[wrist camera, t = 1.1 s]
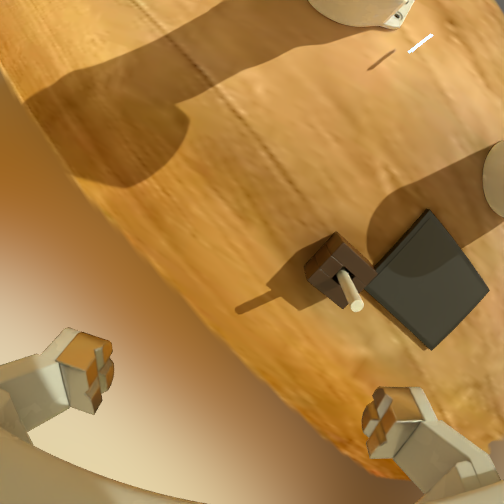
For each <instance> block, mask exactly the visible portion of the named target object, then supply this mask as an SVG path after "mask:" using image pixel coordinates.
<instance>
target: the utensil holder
mask: <svg viewBox="0 0 504 504" xmlns="http://www.w3.org/2000/svg"><path fill="white" fill-rule="evenodd" d="M483 190H484V194H485V197H486V200H487V202H488V204H489V206H490V207H491V208H492V210H493V211H494V212H495V213H497V214H498V215H500V216H501V217H503V218H504V141H500V142H498V143H497V144H495V145H494V146H493V148H492V149H491V150H490V152H489V153H488V155H487V157H486V160H485V163H484V168H483Z"/></svg>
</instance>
